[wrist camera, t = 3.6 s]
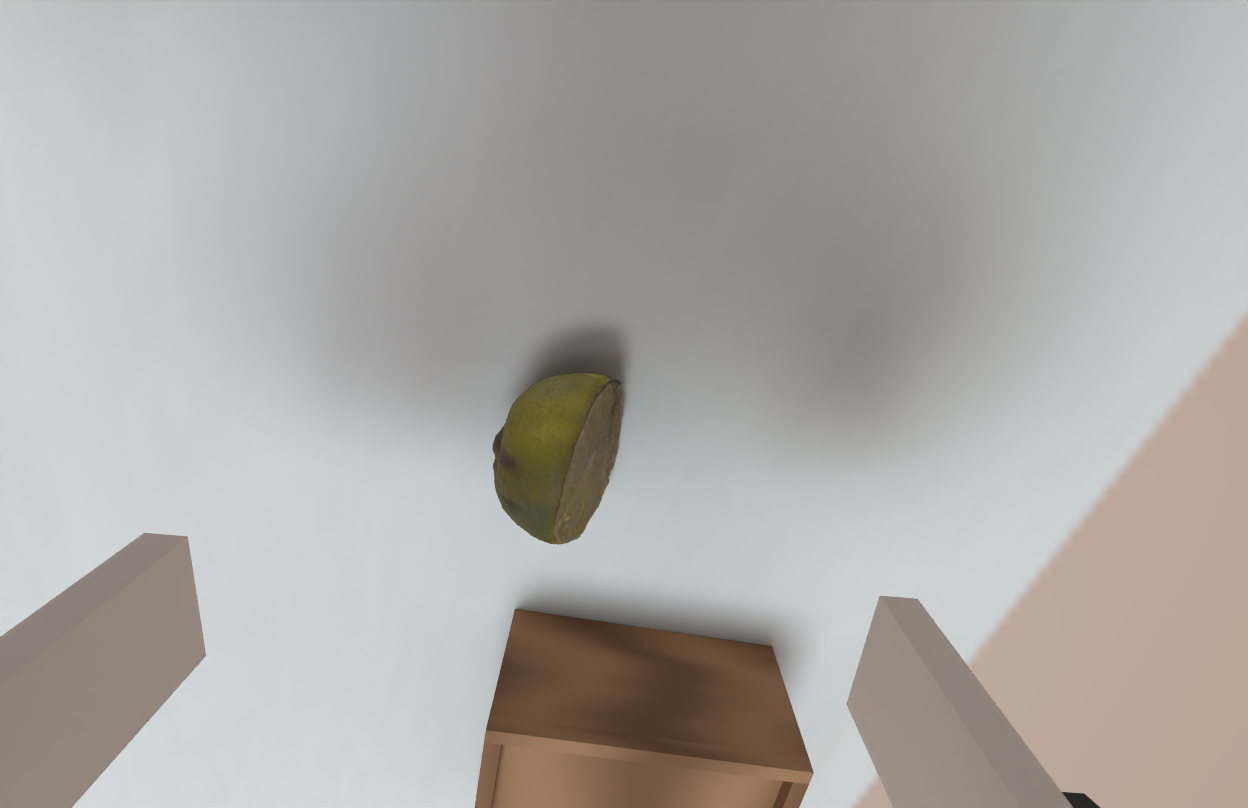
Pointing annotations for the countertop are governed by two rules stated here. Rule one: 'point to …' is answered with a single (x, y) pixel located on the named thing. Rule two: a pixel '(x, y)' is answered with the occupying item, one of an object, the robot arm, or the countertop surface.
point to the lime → (558, 453)
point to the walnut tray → (638, 721)
